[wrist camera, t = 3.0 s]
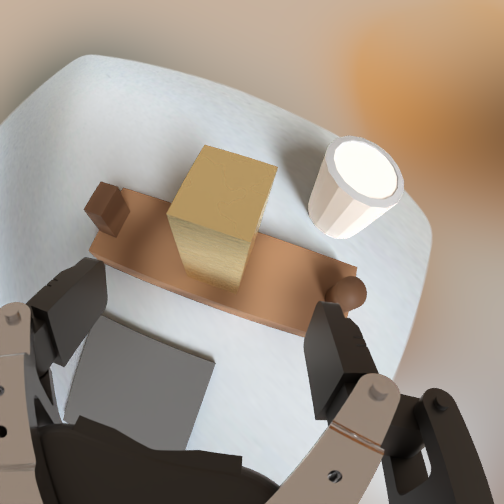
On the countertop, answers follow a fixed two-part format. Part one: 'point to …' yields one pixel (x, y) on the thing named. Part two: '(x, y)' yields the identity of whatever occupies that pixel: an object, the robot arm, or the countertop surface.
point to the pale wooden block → (220, 215)
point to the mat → (138, 386)
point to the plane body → (241, 304)
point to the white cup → (353, 187)
